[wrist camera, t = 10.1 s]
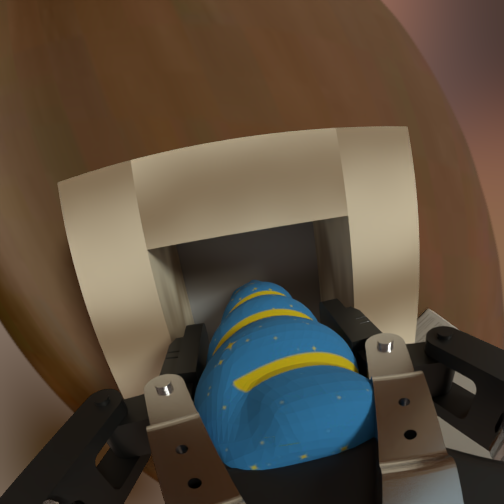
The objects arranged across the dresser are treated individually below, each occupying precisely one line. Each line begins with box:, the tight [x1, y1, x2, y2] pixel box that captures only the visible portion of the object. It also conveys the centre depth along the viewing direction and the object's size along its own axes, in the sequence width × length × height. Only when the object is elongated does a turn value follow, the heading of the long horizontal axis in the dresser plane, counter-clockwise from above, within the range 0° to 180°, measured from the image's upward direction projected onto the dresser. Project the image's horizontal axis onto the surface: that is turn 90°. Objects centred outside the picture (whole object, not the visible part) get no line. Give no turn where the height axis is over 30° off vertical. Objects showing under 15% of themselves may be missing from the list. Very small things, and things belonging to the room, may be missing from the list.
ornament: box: [194, 280, 375, 470], centre depth 10 cm, size 5×5×15 cm
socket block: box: [58, 126, 419, 399], centre depth 16 cm, size 16×16×6 cm
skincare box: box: [415, 309, 492, 459], centre depth 14 cm, size 8×7×16 cm
